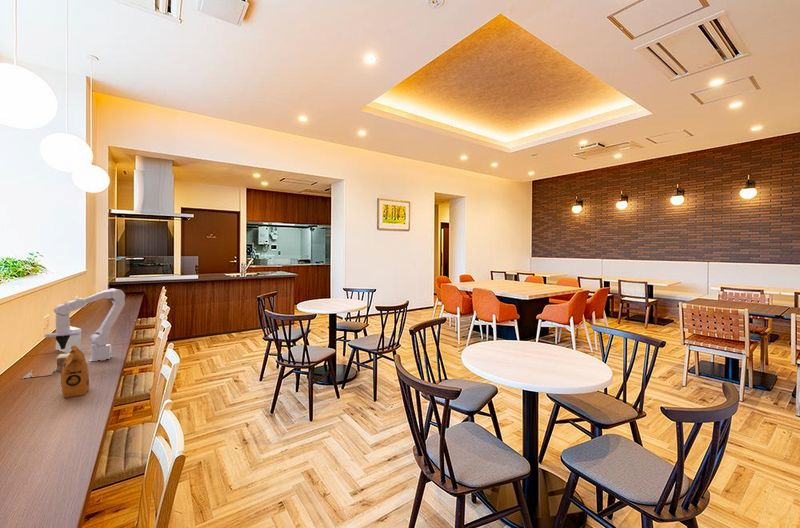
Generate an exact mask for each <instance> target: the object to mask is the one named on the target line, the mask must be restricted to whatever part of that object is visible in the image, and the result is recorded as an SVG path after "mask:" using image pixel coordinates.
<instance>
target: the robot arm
mask: <svg viewBox="0 0 800 528" xmlns="http://www.w3.org/2000/svg"><path fill="white" fill-rule="evenodd" d="M125 297H126V294H125V292H124V291H123V290H122V289H117V288H113V287H112V288H108V289H104V290H102V291H99V292H97V293H95V294H92V295H90V296H86V297H85V298H83V297H76V298H74V300H70V301H68V302H67V301H65V302H64V303H63V304H62V303H60V304H57V305H56V306H55V307H54V309H53V312H54V313H55V332H51V333H45V334H44V338H45V339H47V338H55V341H56V340H57V342H58V343H59V345H60V347H61V349H65V347H66V343H67V341H68V339H69V338H70V336H73V335H80V331H77V332H70V326H71V323H70V318H71V317H70V314H71V312H75V311H77V310H79V309H82V308H84V307H86V306H87V305H88V304H90V303H92V302H95V301H98V300H100V299H101V300H102V299H109V300H110V301H111V302H112V305H111V308H110V310H109V311H108V313H107V315H106V317H105V318H104V320H103V321H102V323H101V325H100V326H99V328H98V329H97V330H95V332H93V334H91V335H90V336H89V342H90V343H91V344H90V359H89V360H88V362H90V363H91V362H99V361H98V360H100V361H106V359H109V360H110V359H111V358H112V344H111V343H108V342H109V337H110V330H112V327H113V325H114V324H115V322H116V321H117V319H118V317H119V315H120V314H121V312H122V311H123V308H124V307H125V305H126V303H125V302H126V301H125V300H126V299H125ZM110 357H111V358H110Z"/></svg>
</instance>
